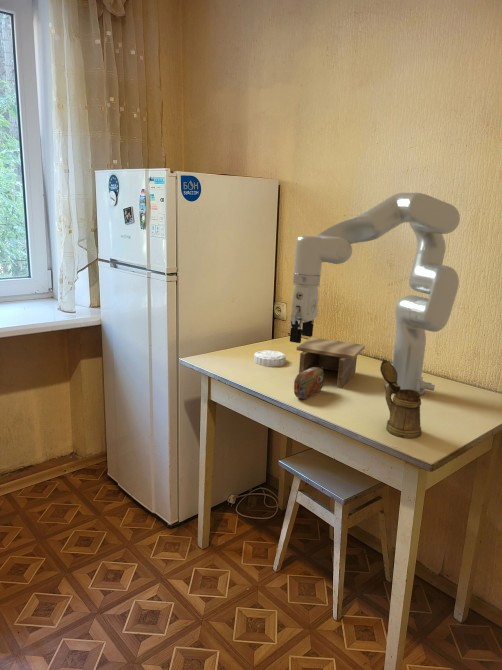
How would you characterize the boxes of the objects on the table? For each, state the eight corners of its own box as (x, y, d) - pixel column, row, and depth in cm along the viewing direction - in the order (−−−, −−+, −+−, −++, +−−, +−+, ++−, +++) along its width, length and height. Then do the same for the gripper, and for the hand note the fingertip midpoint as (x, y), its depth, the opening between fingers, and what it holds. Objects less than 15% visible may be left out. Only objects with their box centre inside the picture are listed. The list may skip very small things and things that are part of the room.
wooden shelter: (362, 373, 186) (365, 345, 183) (348, 389, 169) (351, 358, 166) (309, 364, 194) (311, 337, 191) (291, 378, 177) (293, 348, 174)
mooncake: (289, 361, 199) (290, 352, 198) (278, 369, 188) (279, 359, 187) (261, 356, 203) (261, 347, 202) (248, 364, 192) (249, 354, 192)
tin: (299, 402, 155) (301, 376, 153) (291, 400, 157) (292, 373, 155) (324, 390, 167) (326, 365, 165) (315, 387, 169) (317, 363, 167)
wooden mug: (385, 416, 147) (392, 356, 143) (427, 433, 137) (436, 369, 133) (366, 423, 142) (372, 361, 138) (408, 441, 132) (417, 375, 128)
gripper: (308, 284, 135) (303, 347, 139) (328, 279, 151) (322, 335, 154) (282, 281, 138) (277, 342, 142) (304, 276, 154) (299, 331, 158)
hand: (301, 339), depth 148 cm, fingers open, 9 cm apart
